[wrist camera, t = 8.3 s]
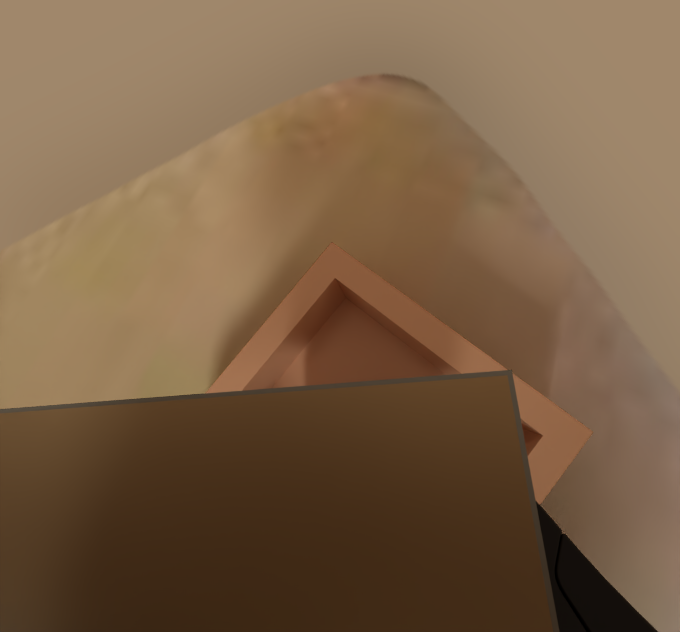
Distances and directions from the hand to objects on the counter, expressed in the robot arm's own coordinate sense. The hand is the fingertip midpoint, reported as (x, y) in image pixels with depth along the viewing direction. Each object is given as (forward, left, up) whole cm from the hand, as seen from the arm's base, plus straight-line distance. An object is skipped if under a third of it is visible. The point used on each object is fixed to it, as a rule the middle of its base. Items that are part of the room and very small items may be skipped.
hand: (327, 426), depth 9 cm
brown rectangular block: (-1, +1, -7) cm, 7 cm away
